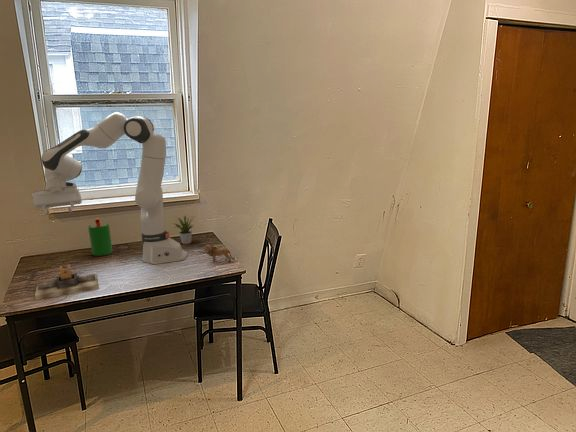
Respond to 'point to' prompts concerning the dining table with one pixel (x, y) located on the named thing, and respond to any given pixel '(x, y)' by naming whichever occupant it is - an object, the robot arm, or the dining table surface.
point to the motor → (100, 239)
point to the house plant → (185, 230)
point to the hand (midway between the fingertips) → (59, 212)
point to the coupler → (65, 272)
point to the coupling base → (66, 286)
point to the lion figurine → (217, 252)
